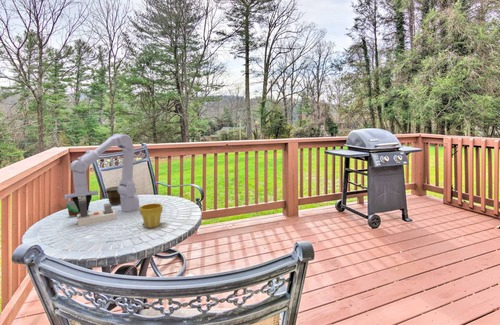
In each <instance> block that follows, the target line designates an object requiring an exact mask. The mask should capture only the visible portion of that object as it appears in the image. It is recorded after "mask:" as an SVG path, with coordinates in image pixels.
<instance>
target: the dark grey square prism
mask: <svg viewBox="0 0 500 325" xmlns="http://www.w3.org/2000/svg"><path fill="white" fill-rule="evenodd" d="M79 207H80V216H81V217H85V216H88V214H87V213H88V211H87V205H86V200H85V201H79Z"/></svg>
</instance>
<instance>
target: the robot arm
mask: <svg viewBox="0 0 500 325" xmlns="http://www.w3.org/2000/svg"><path fill="white" fill-rule="evenodd" d="M132 139H133V138H131V137H130V136H129V135H128V134H125V133H124V134H121V133H120V134H119V133H115V134H112V135H111V136H110V137H108V138H107V139H106V140H105V141H104V142H103V143H101V144H100V145H99V146H98V147H96V148H95V149H94V150H92V149H90V150H87V151H85V153H84V154H83V155H81V156H79V157H78V158H77V160H75V159H74V160H73V161H72V162H71V163H70V165H69V169H70V170H71V171H72V180H73V188H74V192H73V193H67V194H64V200H68V199H72V200H73V202H74V203H75V204H76V206H77V208H78V212H80V207H79V200H78V198H81V197H85V196H86V205H87V212H89V209H90V204H91V200H92V199H93V198H92V196H98V195H99V191H98V190H92V191H91V190H89V187H88V179H87V178H88V177H87V176H88V175H87V171H88V170H89V167H90V166H91V165H93V164H94V163H95V162H97V161H98V160H99V158H100V155H102V154H103V153H104V152H106V151H107V150H109V149H111V148H112V147H118V148H119V149H120V150H121V151H123V153H122V154H123V157H122V173H121V180H120V181H119V183H118V184H119V185H118V186H117V187H118V189H117V191H118V193H119V194H120V200H121V204H120V207H121V208H120V209H121V212H122V213H131V212H134V211H140V199H139V196H138V195H137V194H136V192H137V189H136V184H135V181H134V180H133V178H134V176H133V172H134V160H135V157H134V156H135V147H134V145H133V142H132Z"/></svg>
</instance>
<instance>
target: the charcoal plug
mask: <svg viewBox="0 0 500 325" xmlns="http://www.w3.org/2000/svg"><path fill="white" fill-rule="evenodd" d="M103 209H104V211H105V214H110V213H112V209H113V208H112V205H111V204H110V202H109V203H104V204H103Z"/></svg>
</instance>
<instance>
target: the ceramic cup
mask: <svg viewBox="0 0 500 325" xmlns="http://www.w3.org/2000/svg"><path fill="white" fill-rule="evenodd" d="M117 189H118V186H111V187H106V189H105V190H104V191H103V192H101V193H102V194H101V195H102V197H104V198H106V199H107V200H108V202H109V203H110V204H111V206H119V205H121V200H120V194H119V193H118V191H117ZM104 193H106V196H105V195H104Z"/></svg>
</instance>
